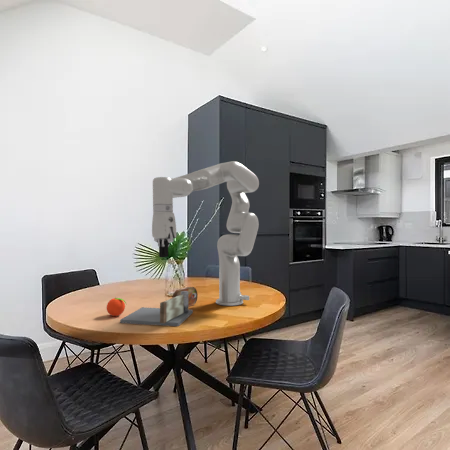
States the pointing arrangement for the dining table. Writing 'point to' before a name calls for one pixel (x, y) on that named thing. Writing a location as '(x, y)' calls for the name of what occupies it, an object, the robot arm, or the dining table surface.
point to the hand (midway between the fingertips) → (163, 256)
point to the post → (185, 301)
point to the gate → (171, 308)
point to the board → (153, 317)
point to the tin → (191, 295)
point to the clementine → (116, 306)
